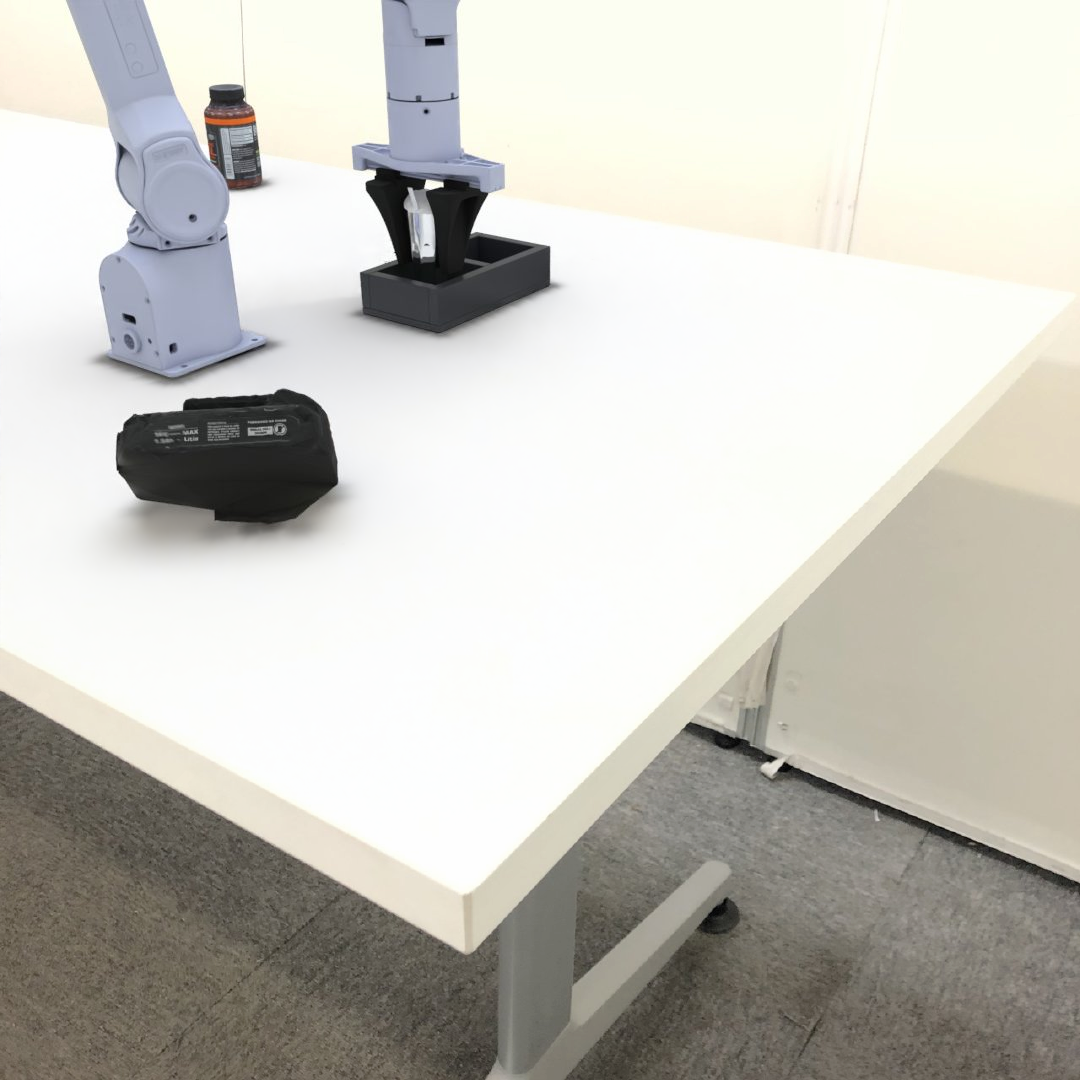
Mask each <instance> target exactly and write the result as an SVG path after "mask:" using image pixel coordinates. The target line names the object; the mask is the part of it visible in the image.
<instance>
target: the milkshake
mask: <svg viewBox="0 0 1080 1080" xmlns="http://www.w3.org/2000/svg"><path fill="white" fill-rule="evenodd" d="M428 190H430V189H429V188H424V189H421V190H414V191H413V189H412V188H410V187H408V191H409V195H408V196H407V197H406V199H405V201H404V211H405V217H406V224H407V230H408V236H409V241H410V247H411V255H412V263H413V271H414V280H415V281H419V282H424V283H428V284H432V285H438V284H440V283H443V282H446V281H448V280H451V279H453V278H455V273H453V274H451V275H445V274H442V272H441V268H440V263H439V252H438V238H437V231H436V226H435V222H434V218H433V214H432V211H431V208H430V205H429V202H428V200H427V197H426V191H428Z"/></svg>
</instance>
